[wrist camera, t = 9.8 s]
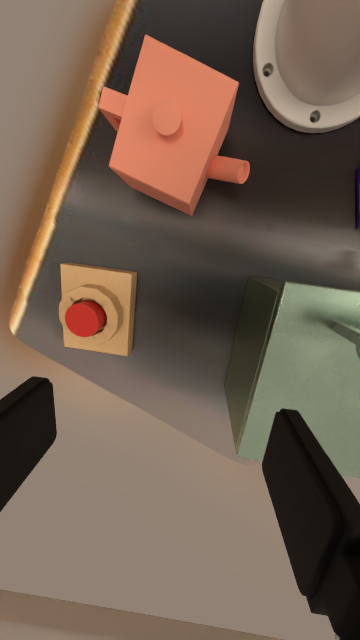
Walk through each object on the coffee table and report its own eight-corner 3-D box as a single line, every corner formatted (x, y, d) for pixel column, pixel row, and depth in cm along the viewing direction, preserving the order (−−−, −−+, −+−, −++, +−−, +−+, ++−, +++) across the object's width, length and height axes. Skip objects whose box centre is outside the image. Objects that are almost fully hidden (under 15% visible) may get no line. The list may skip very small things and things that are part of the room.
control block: (71, 262, 26) (49, 264, 22) (137, 271, 26) (126, 275, 22) (73, 339, 29) (54, 352, 25) (132, 348, 29) (122, 363, 25)
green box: (248, 275, 25) (278, 291, 15) (363, 291, 24) (465, 317, 15) (223, 385, 29) (235, 448, 20) (319, 400, 29) (377, 473, 19)
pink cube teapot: (219, 230, 23) (229, 221, 16) (116, 181, 23) (72, 146, 15) (256, 150, 21) (291, 91, 13) (142, 93, 20) (106, -5, 13)
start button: (73, 297, 23) (63, 301, 22) (106, 302, 23) (98, 306, 22) (74, 328, 24) (65, 334, 23) (105, 333, 24) (98, 339, 23)
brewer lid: (281, 280, 15) (320, 293, 10) (471, 306, 15) (608, 334, 10) (235, 449, 20) (246, 513, 15) (377, 473, 19) (436, 548, 14)
